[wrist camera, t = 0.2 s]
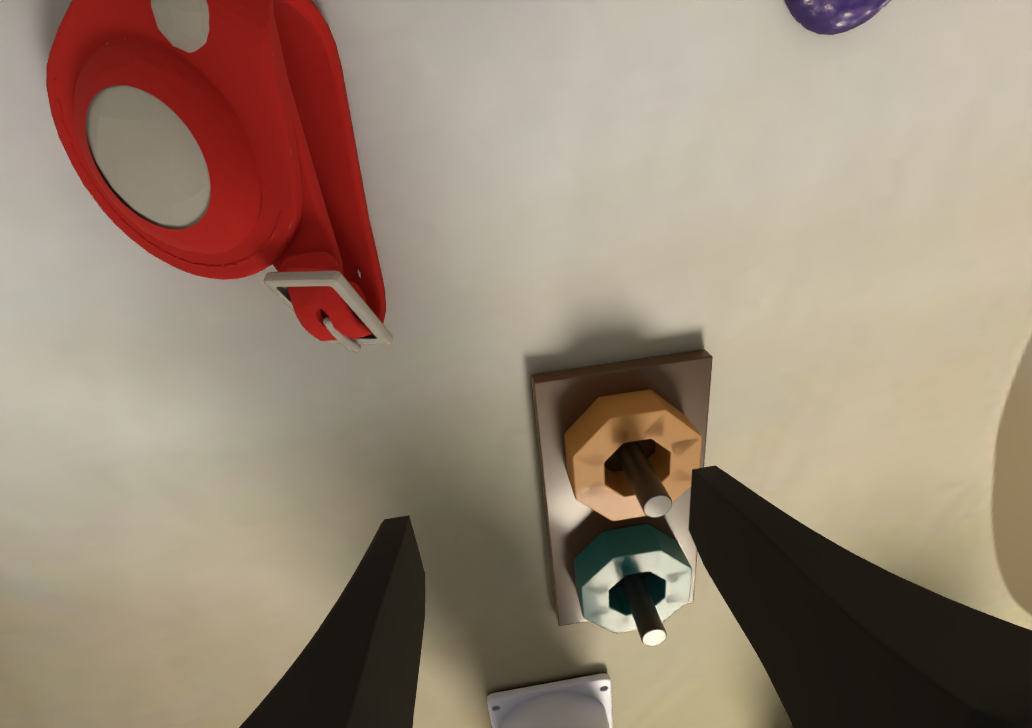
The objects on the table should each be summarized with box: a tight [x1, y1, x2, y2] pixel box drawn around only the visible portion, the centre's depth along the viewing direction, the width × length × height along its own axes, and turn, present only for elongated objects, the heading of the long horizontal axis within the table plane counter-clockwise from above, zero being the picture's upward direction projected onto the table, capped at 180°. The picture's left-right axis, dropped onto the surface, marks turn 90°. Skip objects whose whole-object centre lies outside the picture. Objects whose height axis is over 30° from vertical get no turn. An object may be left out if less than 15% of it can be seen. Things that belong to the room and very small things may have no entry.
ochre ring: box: [564, 389, 702, 521], centre depth 22 cm, size 6×6×2 cm
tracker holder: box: [46, 0, 393, 352], centre depth 16 cm, size 12×4×10 cm
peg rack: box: [531, 350, 712, 646], centre depth 23 cm, size 16×8×5 cm, turn 6°
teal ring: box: [574, 524, 692, 633], centre depth 26 cm, size 6×6×2 cm
